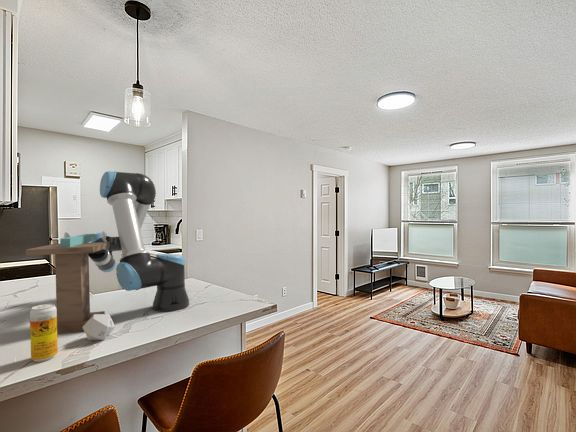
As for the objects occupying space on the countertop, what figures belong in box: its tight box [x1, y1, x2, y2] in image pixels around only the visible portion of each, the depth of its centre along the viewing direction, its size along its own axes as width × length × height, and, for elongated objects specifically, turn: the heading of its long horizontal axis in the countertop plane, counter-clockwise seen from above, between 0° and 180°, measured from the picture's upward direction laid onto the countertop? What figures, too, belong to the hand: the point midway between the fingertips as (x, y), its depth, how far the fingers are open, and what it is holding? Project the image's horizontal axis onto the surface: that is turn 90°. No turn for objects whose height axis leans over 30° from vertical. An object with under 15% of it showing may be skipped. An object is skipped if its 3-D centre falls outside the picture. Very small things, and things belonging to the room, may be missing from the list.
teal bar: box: [59, 233, 96, 247], centre depth 122 cm, size 26×3×3 cm, turn 15°
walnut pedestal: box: [25, 242, 110, 335], centre depth 116 cm, size 20×20×30 cm
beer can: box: [29, 303, 59, 363], centre depth 90 cm, size 6×6×15 cm
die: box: [82, 313, 116, 341], centre depth 103 cm, size 8×9×10 cm
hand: (84, 234), depth 127 cm, fingers open, 13 cm apart
